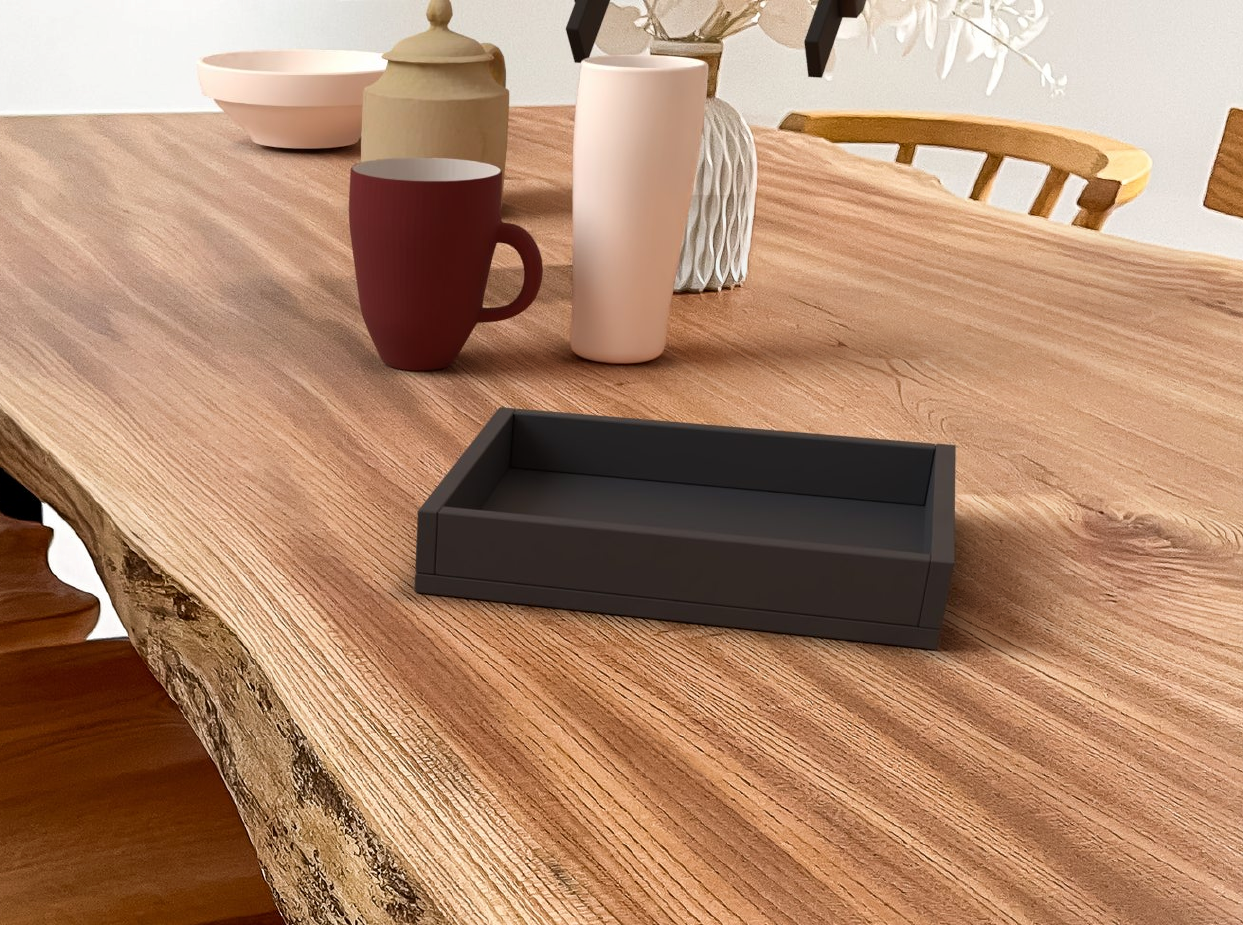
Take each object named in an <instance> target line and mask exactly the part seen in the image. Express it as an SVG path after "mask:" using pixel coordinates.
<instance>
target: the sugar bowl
mask: <svg viewBox="0 0 1243 925" xmlns="http://www.w3.org/2000/svg"><path fill="white" fill-rule="evenodd" d="M453 12H454V11H453V6H452V2H451V1H450V0H430V1H429V3H428V5H427V8H426V12H425V16H426V19H427V21H428V22H429V28H428V29H427V30H425V31H422V32H419V33H416V34H414V35H411V36H408V37H406V38H403V39H401V40H399V41H398V42H397V43H395V45H394V46H393V47H392V48H391V50H390V51H387V52H385V53H384V54H383V55H382V56H381V57H382V59H385V60H388V62H387V66H386V69H385V71H384V73H383V74H382V76H381V77H380V78H379V79H378V80H377V81H376V82H375V83H374V84H371V85H369V86H367V87H365V89H364V95H363V111H362V133H361V137H360V163H362V162H366V161H372V160H380V159H391V158H448V159H460V160H470V161H477V162H482V163H487V164H491V165H494V166H497V167H499V168H500V169H501V170H502V198H501V209H502V208H503V199H504V186H505V176H506V175H505V174H506V163H507V153H508V152H507V151H508V136H509V118H510V90H509V89H508V88H507V87H506V86H507V68H506V61H505V60H506V59H505V56H504V54H503V52H502V50H501V49H500V47H498V46H497V45H495V44H493V43H491V42H481V43H480V42H479V41H477V39H474V38H473V37H472V38H471V37H469V36H466V35H464V34H461V33H458V32H455V31H453V30H451V29H450V28H449V27H448V26H449V24H450V22H451V20H452V18H453V15H454V13H453Z"/></svg>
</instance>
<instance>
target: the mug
mask: <svg viewBox="0 0 1243 925" xmlns="http://www.w3.org/2000/svg"><path fill="white" fill-rule="evenodd" d="M501 198H502V170H501V169H500V168H499V167H497V166H494V165H491V164H487V163H482V162H477V161H470V160H460V159H448V158H391V159H380V160H372V161H366V162H362V163H361V162H358V163H355V164H353V165H352V166H351V167H350V174H349V192H348V223H349V234H350V241H351V249H352V256H353V264H354V272H355V279H356V285H357V287H356V288H357V293H358V302H359V306H360V308H359V309H360V313H361V316H362V319H363V322H364V324H365V327H366V329H367V331H368V335H369V336H370V338H371V341H372V343H373V345H374V348H375V349H376V351H377V353H378V355H379V359H380V360H381V362H382V363H383V364H385V365H386V366H387V367H392V368H395V369H399V370H406V371H435V370H442V369H446V368H448V367H450V366H452V365H453V364H454V363H455V361H456V360H457V358H459V357H458V356H459V355H460V353H461V351H462V350H463V348H464V347H465V345H466V343H467V341H468V339H469V338H470V336H471V334H472V332H473V331H474V329H475V328H476V326H477V324H478V323H481V324H482V323H494V322H501V321H506V320H509V319H512V318H514V317H515V316H519V315H520V314H522V313H523V312H524V311H526V310H527V309H528V308H530V306H531V305H532V304H533V302H534V301H535V299H536V298H537V296H538V293H539V291H540V289H541V286H542V281H543V274H544V266H543V258H542V255H541V251H540V249H539V247H538V244H537V242H536V241H535V239H534V238H533V236H532V235H531V233H529V232H528V230H526V229H525V228H523V227H522V226H521V225H518V224H515V223H511V222H504V221H502V208H501ZM497 244H505V245H508V246H510V247H512V248H513V249H514V250H515V251H516V252H517V253H518V255H519V257H520V259H521V262H522V266H523V282H522V286H521V289H520V292H519V294H518V295H517V297H516V298H514V299H513V301H512V302H510V303H508V304H506V305H502V306H496V307H484V299H485V293H486V288H487V284H488V279H489V274H490V271H491V266H492V262H493V259H494V258H493V257H494V254H495V250H496V248H497Z"/></svg>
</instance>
